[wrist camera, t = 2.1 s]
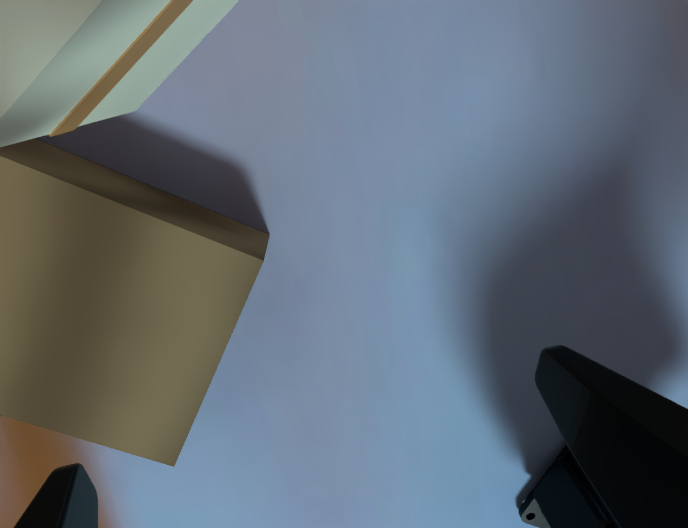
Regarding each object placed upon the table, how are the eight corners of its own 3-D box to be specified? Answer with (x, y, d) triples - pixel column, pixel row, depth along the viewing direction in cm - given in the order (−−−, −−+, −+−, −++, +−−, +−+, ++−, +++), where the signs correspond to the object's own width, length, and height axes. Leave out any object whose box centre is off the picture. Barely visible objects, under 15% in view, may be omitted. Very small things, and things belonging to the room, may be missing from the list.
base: (269, 234, 21) (263, 260, 18) (189, 420, 24) (173, 466, 21) (17, 130, 19) (-34, 142, 16) (-36, 348, 22) (-86, 389, 19)
